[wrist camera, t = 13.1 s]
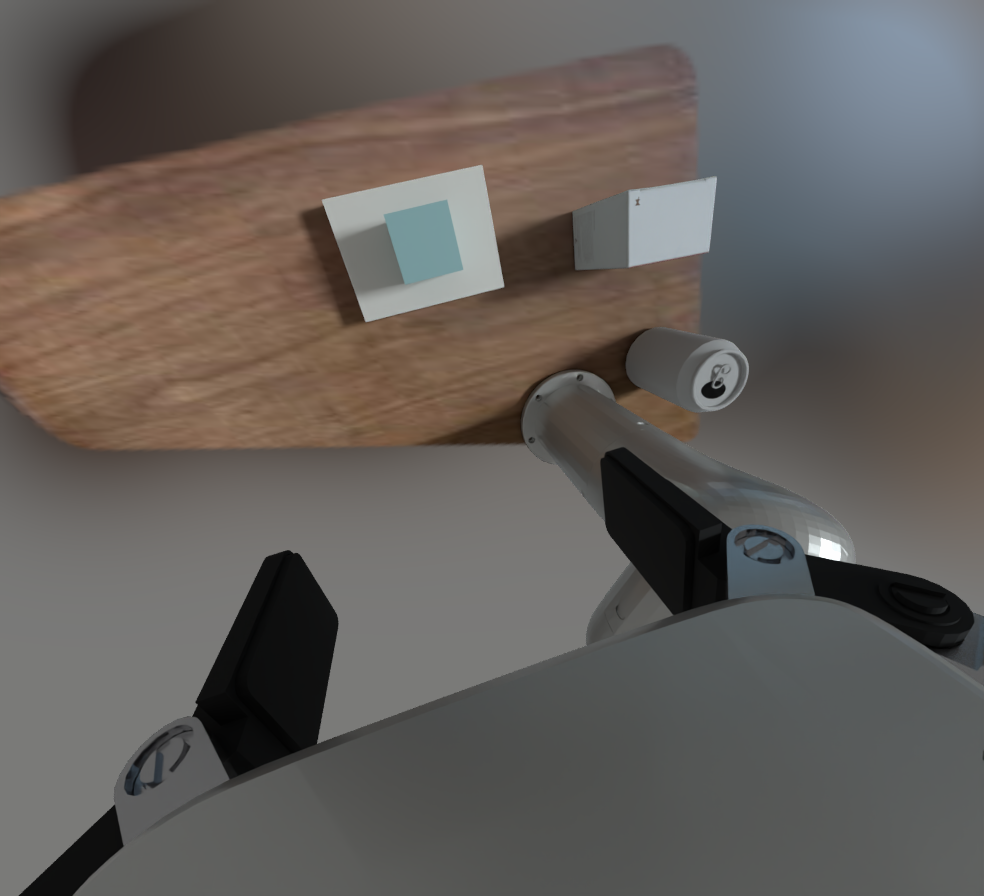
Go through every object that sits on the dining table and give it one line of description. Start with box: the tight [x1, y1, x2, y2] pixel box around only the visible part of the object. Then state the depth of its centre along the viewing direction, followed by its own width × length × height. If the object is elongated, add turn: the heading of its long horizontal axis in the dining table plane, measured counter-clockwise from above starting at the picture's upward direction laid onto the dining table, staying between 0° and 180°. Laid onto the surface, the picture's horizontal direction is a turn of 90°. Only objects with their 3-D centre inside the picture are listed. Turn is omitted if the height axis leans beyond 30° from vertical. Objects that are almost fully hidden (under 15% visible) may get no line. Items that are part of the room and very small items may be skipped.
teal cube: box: [384, 200, 463, 285], centre depth 31 cm, size 5×5×5 cm
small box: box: [572, 176, 717, 270], centre depth 34 cm, size 8×6×10 cm
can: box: [626, 327, 749, 412], centre depth 41 cm, size 8×8×12 cm
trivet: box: [322, 165, 504, 322], centre depth 35 cm, size 14×10×2 cm
